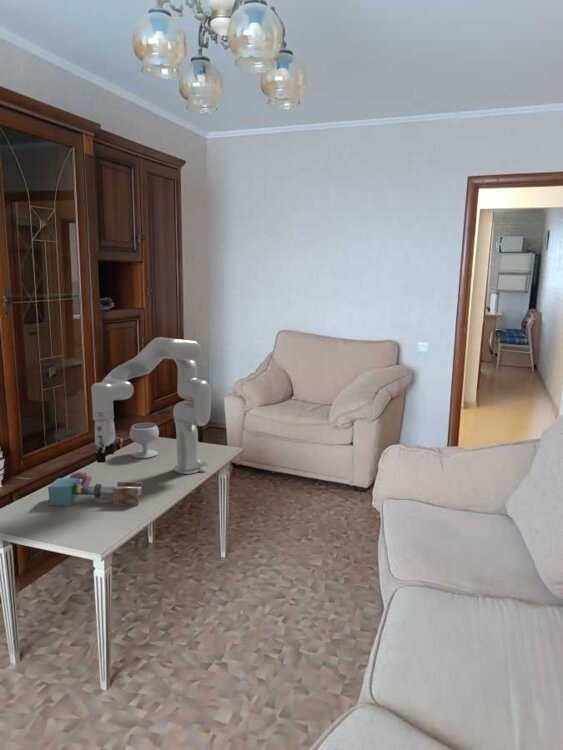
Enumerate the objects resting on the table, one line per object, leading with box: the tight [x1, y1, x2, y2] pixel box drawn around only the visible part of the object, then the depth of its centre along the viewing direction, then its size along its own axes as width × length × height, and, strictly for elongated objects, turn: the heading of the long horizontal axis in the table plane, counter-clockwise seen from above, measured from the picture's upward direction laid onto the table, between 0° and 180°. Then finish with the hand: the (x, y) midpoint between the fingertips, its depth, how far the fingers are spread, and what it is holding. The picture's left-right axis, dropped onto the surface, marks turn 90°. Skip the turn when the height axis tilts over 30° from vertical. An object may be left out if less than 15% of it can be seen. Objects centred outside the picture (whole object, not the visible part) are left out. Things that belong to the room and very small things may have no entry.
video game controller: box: [69, 471, 93, 486], centre depth 228 cm, size 10×5×7 cm, turn 71°
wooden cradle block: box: [112, 481, 144, 506], centre depth 212 cm, size 10×7×7 cm
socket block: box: [47, 477, 80, 507], centre depth 212 cm, size 8×9×8 cm
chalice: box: [129, 422, 160, 459], centre depth 267 cm, size 14×14×15 cm
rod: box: [74, 483, 143, 499], centre depth 212 cm, size 26×5×5 cm, turn 89°
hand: (105, 458), depth 209 cm, fingers open, 9 cm apart
